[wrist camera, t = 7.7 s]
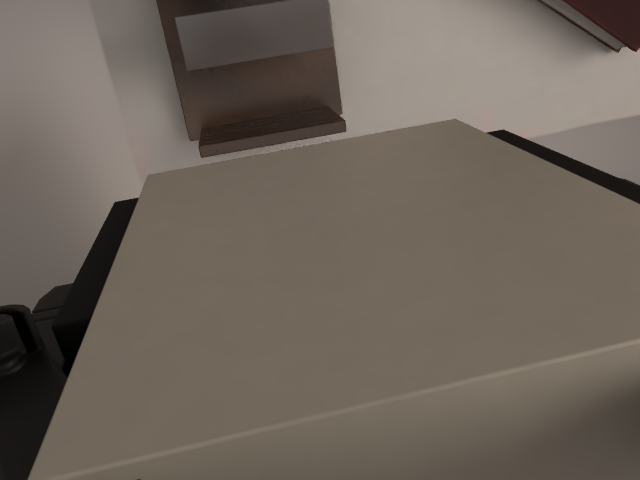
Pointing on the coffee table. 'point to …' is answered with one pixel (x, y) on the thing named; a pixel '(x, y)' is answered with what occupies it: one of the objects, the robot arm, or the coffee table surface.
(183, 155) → the coffee table surface
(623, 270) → the beige rectangular block
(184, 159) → the coffee table surface
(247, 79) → the brown rack
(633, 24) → the book
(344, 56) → the coffee table surface
